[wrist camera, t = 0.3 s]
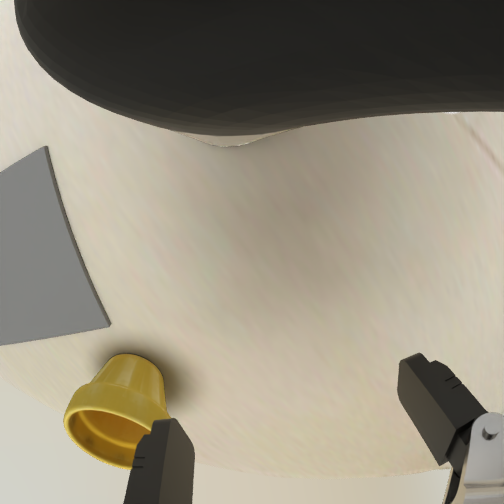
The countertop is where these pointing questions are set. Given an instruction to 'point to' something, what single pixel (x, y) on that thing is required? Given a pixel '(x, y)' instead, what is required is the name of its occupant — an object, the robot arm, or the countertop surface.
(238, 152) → the countertop surface
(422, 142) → the countertop surface
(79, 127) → the countertop surface
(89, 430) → the plant pot
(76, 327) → the mat
